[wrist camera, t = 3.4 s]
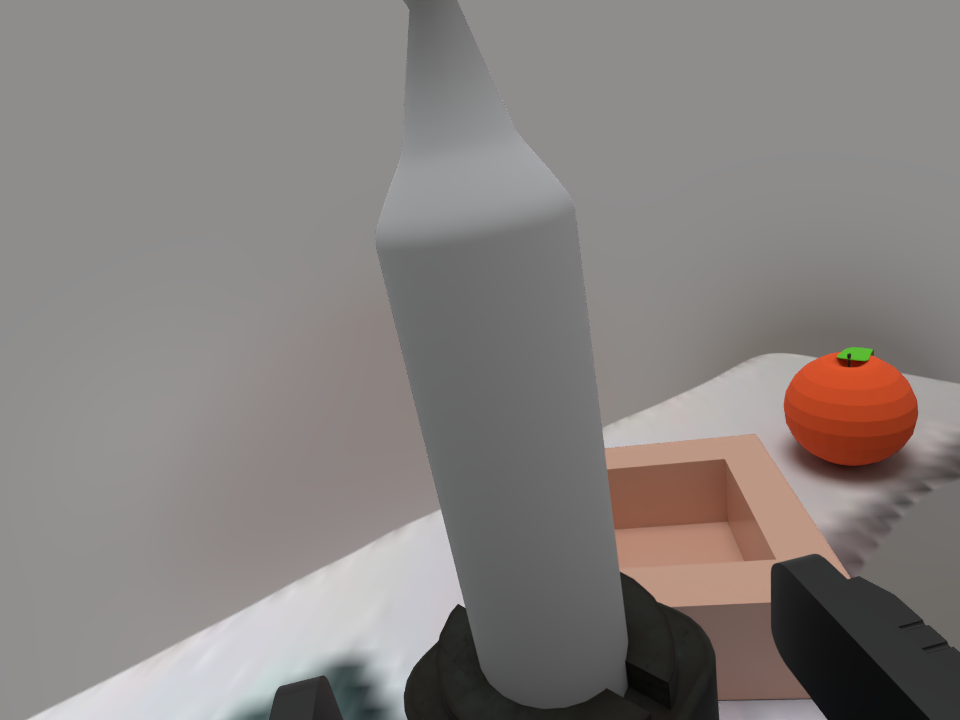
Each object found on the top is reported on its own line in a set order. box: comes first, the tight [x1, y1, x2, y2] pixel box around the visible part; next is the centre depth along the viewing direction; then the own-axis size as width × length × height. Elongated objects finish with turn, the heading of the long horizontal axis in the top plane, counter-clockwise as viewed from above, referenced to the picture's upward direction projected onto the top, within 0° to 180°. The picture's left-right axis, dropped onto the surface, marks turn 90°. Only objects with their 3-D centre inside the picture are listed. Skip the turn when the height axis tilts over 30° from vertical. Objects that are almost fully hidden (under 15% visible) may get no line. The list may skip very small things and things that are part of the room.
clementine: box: [784, 347, 918, 466], centre depth 35 cm, size 8×7×7 cm
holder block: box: [604, 434, 851, 700], centre depth 28 cm, size 12×12×5 cm
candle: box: [376, 0, 719, 720], centre depth 11 cm, size 5×5×25 cm
